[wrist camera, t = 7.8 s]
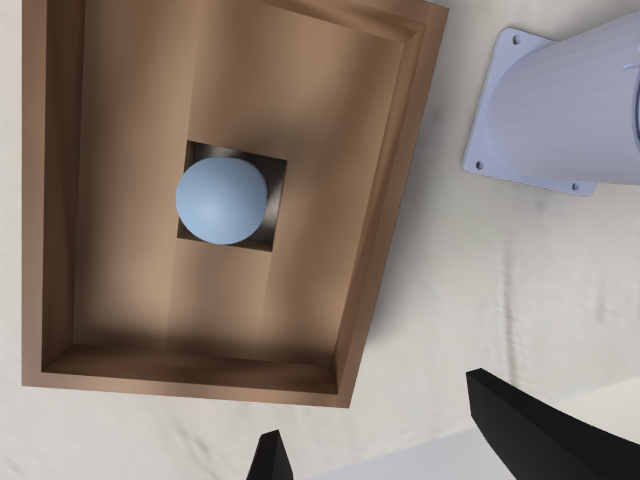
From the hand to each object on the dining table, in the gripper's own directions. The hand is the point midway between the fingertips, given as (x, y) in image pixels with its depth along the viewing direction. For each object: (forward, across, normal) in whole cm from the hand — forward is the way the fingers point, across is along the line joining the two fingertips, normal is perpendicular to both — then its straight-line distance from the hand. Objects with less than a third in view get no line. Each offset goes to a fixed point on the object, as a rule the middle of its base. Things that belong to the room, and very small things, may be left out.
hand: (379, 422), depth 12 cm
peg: (+10, +4, -9) cm, 14 cm away
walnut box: (+10, +4, -8) cm, 14 cm away
